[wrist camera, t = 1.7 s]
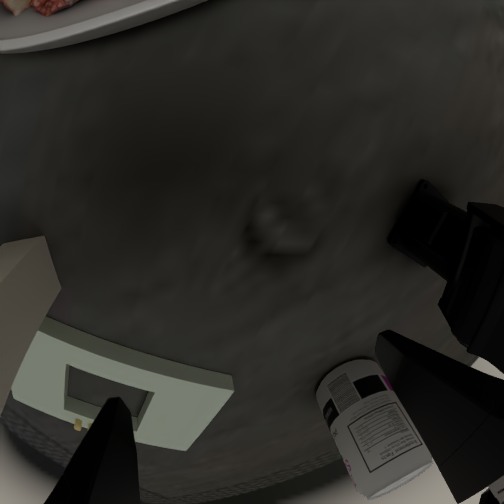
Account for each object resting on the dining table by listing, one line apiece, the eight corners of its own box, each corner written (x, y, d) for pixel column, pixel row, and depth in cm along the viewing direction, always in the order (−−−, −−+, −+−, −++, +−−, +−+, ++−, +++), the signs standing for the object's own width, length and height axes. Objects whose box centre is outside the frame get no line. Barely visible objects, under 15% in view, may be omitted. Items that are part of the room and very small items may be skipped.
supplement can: (387, 358, 31) (451, 451, 18) (348, 401, 34) (395, 491, 20) (341, 351, 28) (410, 469, 15) (300, 399, 31) (345, 509, 17)
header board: (231, 375, 26) (236, 401, 24) (184, 438, 31) (186, 458, 28) (10, 299, 18) (-5, 321, 16) (18, 386, 23) (10, 405, 20)
